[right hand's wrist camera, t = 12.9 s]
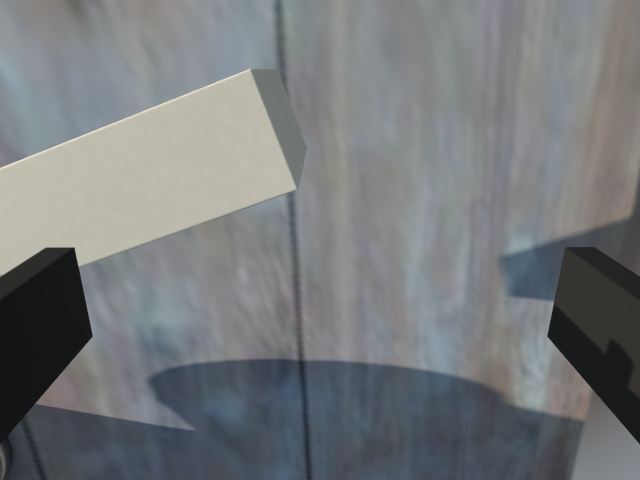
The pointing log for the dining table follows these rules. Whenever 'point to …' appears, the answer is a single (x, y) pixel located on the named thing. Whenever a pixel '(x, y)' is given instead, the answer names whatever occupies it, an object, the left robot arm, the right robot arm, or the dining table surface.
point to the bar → (154, 172)
